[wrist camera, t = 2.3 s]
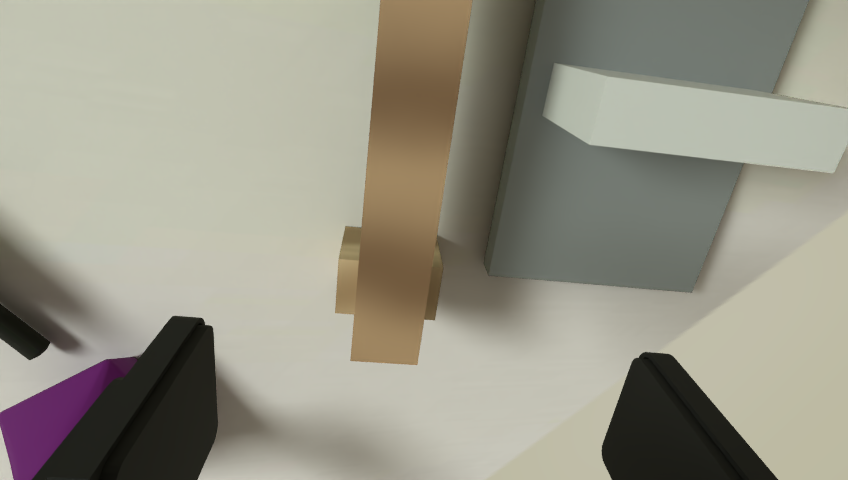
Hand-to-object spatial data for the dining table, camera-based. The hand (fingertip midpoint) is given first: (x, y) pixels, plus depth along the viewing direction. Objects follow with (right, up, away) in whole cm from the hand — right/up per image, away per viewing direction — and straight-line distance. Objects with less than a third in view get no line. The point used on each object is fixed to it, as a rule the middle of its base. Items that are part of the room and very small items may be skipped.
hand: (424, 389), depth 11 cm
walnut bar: (-1, +10, +9) cm, 13 cm away
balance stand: (+11, +11, +14) cm, 20 cm away
